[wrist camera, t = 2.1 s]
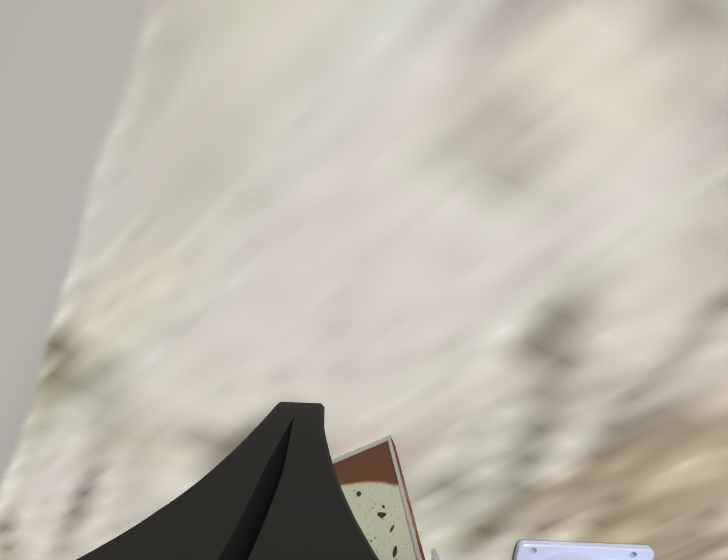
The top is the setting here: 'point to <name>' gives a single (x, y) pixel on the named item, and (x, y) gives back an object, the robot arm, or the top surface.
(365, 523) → the food container
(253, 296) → the top surface
